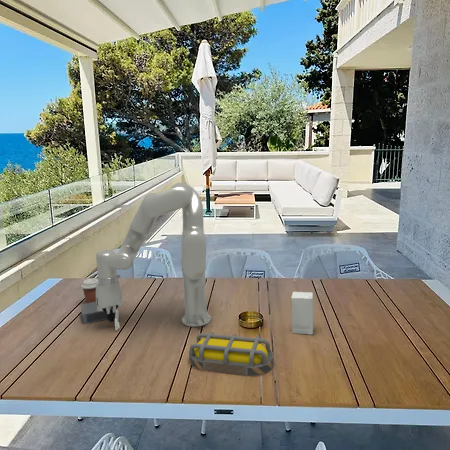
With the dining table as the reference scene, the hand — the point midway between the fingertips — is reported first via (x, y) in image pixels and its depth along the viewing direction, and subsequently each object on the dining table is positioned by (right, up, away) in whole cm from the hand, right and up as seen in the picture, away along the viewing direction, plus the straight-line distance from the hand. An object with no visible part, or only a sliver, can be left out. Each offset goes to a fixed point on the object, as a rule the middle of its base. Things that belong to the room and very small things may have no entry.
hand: (111, 320), depth 169 cm
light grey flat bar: (+2, -2, +4) cm, 5 cm away
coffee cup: (-16, +2, +26) cm, 31 cm away
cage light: (+50, -8, -28) cm, 58 cm away
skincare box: (+79, -2, -8) cm, 80 cm away
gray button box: (-9, -1, +13) cm, 16 cm away
